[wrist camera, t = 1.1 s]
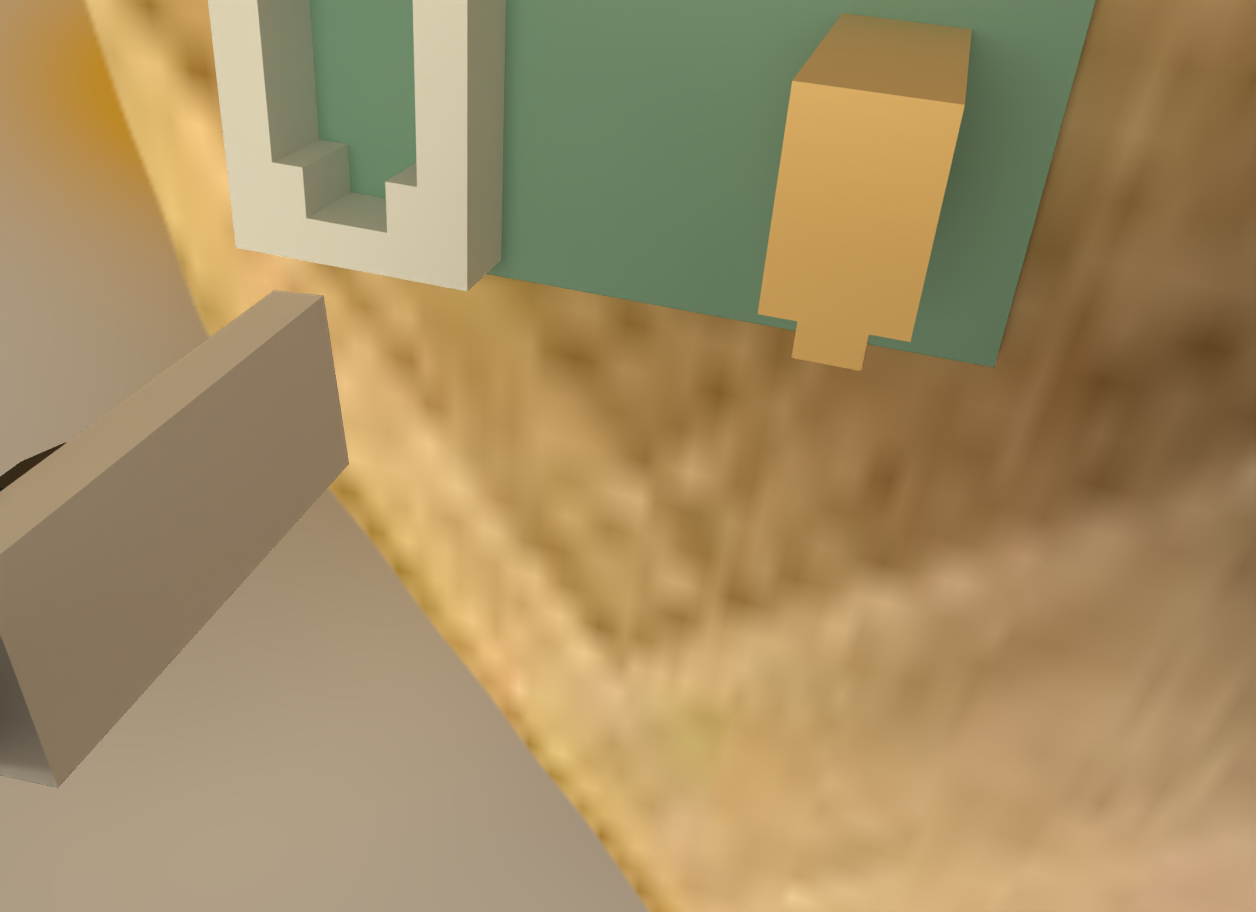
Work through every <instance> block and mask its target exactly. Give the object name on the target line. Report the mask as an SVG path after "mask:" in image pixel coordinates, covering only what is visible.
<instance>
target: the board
mask: <svg viewBox="0 0 1256 912" xmlns="http://www.w3.org/2000/svg"><path fill="white" fill-rule="evenodd" d="M1095 2H1096V0H208V5H209V14H210V23H211V32H212V41H213V49H214V58H215V67H216V76H217V85H218V94H219V102H220V111H221V120H222V129H223V138H224V147H225V155H226V164H227V173H228V182H229V191H230V200H231V208H232V217H233V226H234V235H235V244H236V248H240V249H245V250H251V251H256V252H261V253H267V254H272V255H277V256H282V257H288V258H293V259H298V260H304V261H309V262H314V263H319V264H325V265H330V266H335V267H341V268H346V269H351V270H357V271H362V272H367V273H372V274H378V275H383V276H388V277H394V278H399V279H404V280H410V281H415V282H420V283H425V284H431V285H436V286H441V287H447V288H452V289H457V290H463V291H468V290H469V289H470V288H471V287H472V286H474V285H475V284H476V283H477V282H478V281H479V280H480V279H481V278H482V277H483V276H485V275H486V274H490V275H496V276H501V277H507V278H512V279H518V280H523V281H528V282H534V283H539V284H545V285H550V286H555V287H561V288H566V289H572V290H577V291H583V292H588V293H593V294H599V295H604V296H610V297H615V298H620V299H626V300H631V301H637V302H642V303H648V304H653V305H658V306H664V307H669V308H675V309H680V310H685V311H691V312H696V313H702V314H707V315H713V316H718V317H723V318H729V319H734V320H740V321H745V322H750V323H756V324H761V325H767V326H772V327H777V328H783V329H788V330H794V331H796V327H797V321H793V320H787V319H782V318H776V317H771V316H765V315H760V314H758V308H759V301H760V294H761V288H762V281H763V274H764V267H765V261H766V254H767V247H768V240H769V234H770V227H771V220H772V214H773V207H774V200H775V193H776V187H777V180H778V173H779V167H780V160H781V153H782V146H783V140H784V133H785V126H786V119H787V113H788V106H789V99H790V93H791V86H792V80H793V79H794V78H795V76H796V75H797V74H798V72H799V71H800V70H801V68H802V67H803V66H804V64H805V63H806V62H807V60H808V59H809V58H810V56H811V55H812V53H813V52H814V51H815V49H816V48H817V47H818V45H819V44H820V43H821V41H822V40H823V39H824V37H825V36H826V35H827V33H828V32H829V31H830V29H831V28H832V27H833V25H834V24H835V23H836V21H837V20H838V18H839V17H840V16H841V14H842V13H848V14H856V15H864V16H872V17H879V18H887V19H895V20H903V21H911V22H919V23H927V24H935V25H942V26H950V27H958V28H966V29H972V32H971V43H970V54H969V65H968V76H967V87H966V98H965V107H964V111H963V115H962V120H961V124H960V128H959V133H958V137H957V141H956V146H955V150H954V154H953V159H952V163H951V168H950V172H949V176H948V181H947V185H946V189H945V194H944V198H943V202H942V207H941V211H940V215H939V220H938V224H937V228H936V233H935V237H934V241H933V246H932V250H931V255H930V259H929V263H928V268H927V272H926V276H925V281H924V285H923V289H922V294H921V298H920V302H919V307H918V311H917V315H916V320H915V324H914V329H913V333H912V337H911V342H907V341H902V340H896V339H891V338H885V337H880V336H875V335H870V336H869V340H868V344H870V345H875V346H880V347H886V348H891V349H897V350H902V351H907V352H913V353H918V354H924V355H929V356H935V357H940V358H945V359H951V360H956V361H962V362H967V363H972V364H978V365H983V366H989V367H994V366H995V363H996V359H997V356H998V352H999V348H1000V345H1001V341H1002V338H1003V334H1004V330H1005V327H1006V323H1007V320H1008V316H1009V312H1010V309H1011V305H1012V301H1013V298H1014V294H1015V291H1016V287H1017V283H1018V280H1019V276H1020V273H1021V269H1022V265H1023V262H1024V258H1025V254H1026V251H1027V247H1028V244H1029V240H1030V236H1031V233H1032V229H1033V226H1034V222H1035V218H1036V215H1037V211H1038V208H1039V204H1040V200H1041V197H1042V193H1043V189H1044V186H1045V182H1046V179H1047V175H1048V171H1049V168H1050V164H1051V161H1052V157H1053V153H1054V150H1055V146H1056V142H1057V139H1058V135H1059V132H1060V128H1061V124H1062V121H1063V117H1064V114H1065V110H1066V106H1067V103H1068V99H1069V96H1070V92H1071V88H1072V85H1073V81H1074V77H1075V74H1076V70H1077V67H1078V63H1079V59H1080V56H1081V52H1082V49H1083V45H1084V41H1085V38H1086V34H1087V31H1088V27H1089V23H1090V20H1091V16H1092V12H1093V9H1094V5H1095Z"/></svg>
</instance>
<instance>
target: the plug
mask: <svg viewBox="0 0 1256 912" xmlns="http://www.w3.org/2000/svg"><path fill="white" fill-rule="evenodd" d="M971 32H972V29H966V28H958V27H950V26H942V25H935V24H927V23H919V22H911V21H903V20H895V19H887V18H879V17H872V16H864V15H856V14H848V13H842V14H841V16H840V17H839V18H838V20H837V21H836V23H835V24H834V25H833V27H832V28H831V29H830V31H829V32H828V33H827V35H826V36H825V37H824V39H823V40H822V41H821V43H820V44H819V45H818V47H817V48H816V49H815V51H814V52H813V53H812V55H811V56H810V58H809V59H808V60H807V62H806V63H805V64H804V66H803V67H802V68H801V70H800V71H799V72H798V74H797V75H796V76H795V78H794V79H793V80H792V86H791V93H790V99H789V106H788V113H787V119H786V126H785V133H784V140H783V146H782V153H781V160H780V167H779V173H778V180H777V187H776V193H775V200H774V207H773V214H772V220H771V227H770V234H769V240H768V247H767V254H766V261H765V267H764V274H763V281H762V288H761V294H760V301H759V308H758V314H760V315H765V316H771V317H776V318H782V319H787V320H793V321H797V327H796V333H795V339H794V345H793V351H792V357H791V358H794V359H800V360H805V361H810V362H815V363H821V364H826V365H831V366H837V367H842V368H847V369H852V370H858V371H861V370H862V366H863V361H864V357H865V353H866V348H867V344H868V340H869V336H870V335H875V336H880V337H885V338H891V339H896V340H902V341H907V342H911V337H912V333H913V329H914V324H915V320H916V315H917V311H918V307H919V302H920V298H921V294H922V289H923V285H924V281H925V276H926V272H927V268H928V263H929V259H930V255H931V250H932V246H933V241H934V237H935V233H936V228H937V224H938V220H939V215H940V211H941V207H942V202H943V198H944V194H945V189H946V185H947V181H948V176H949V172H950V168H951V163H952V159H953V154H954V150H955V146H956V141H957V137H958V133H959V128H960V124H961V120H962V115H963V111H964V107H965V98H966V87H967V76H968V65H969V54H970V43H971Z"/></svg>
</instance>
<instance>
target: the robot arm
mask: <svg viewBox="0 0 1256 912" xmlns="http://www.w3.org/2000/svg"><path fill="white" fill-rule="evenodd" d="M348 464H349V461H348V454H347V447H346V441H345V434H344V428H343V421H342V414H341V408H340V401H339V395H338V388H337V381H336V375H335V368H334V362H333V355H332V348H331V342H330V335H329V328H328V322H327V315H326V309H325V302H324V296H323V295H313V294H304V293H294V292H284V291H273V292H271V293H270V294H269V295H267V296H266V297H265V298H263V299H262V300H260V301H259V302H258V303H256V304H255V305H254V306H252V307H251V308H250V309H248V310H247V311H245V312H244V313H243V314H241V315H240V316H239V317H237V318H236V319H235V320H233V321H232V322H231V323H229V324H228V325H226V326H225V327H224V328H222V329H221V330H220V331H218V332H217V333H216V334H214V335H213V336H211V337H210V338H209V339H207V340H206V341H205V342H204V343H202V344H201V345H199V346H198V347H196V348H195V349H194V350H192V351H191V352H190V353H188V354H187V355H186V356H184V357H183V358H182V359H180V360H179V361H177V362H176V363H175V364H173V365H172V366H171V367H170V368H168V369H167V370H165V371H164V372H162V373H161V374H160V375H158V376H157V377H156V378H154V379H153V380H152V381H150V382H149V383H148V384H146V385H145V386H143V387H142V388H141V389H139V390H138V391H137V392H135V393H134V394H133V395H131V396H130V397H128V398H127V399H126V400H125V401H123V402H122V403H120V404H119V405H118V406H116V407H115V408H113V409H112V410H111V411H109V412H108V413H107V414H105V415H104V416H103V417H101V418H100V419H99V420H97V421H96V422H94V423H93V424H92V425H90V426H89V427H88V428H86V429H85V430H84V431H82V432H81V433H80V434H78V435H77V436H75V437H74V438H73V439H71V440H70V441H69V442H67V443H63V444H61V445H59V446H56V447H54V448H52V449H49V450H47V451H45V452H42V453H40V454H38V455H35V456H33V457H31V458H29V459H26V460H24V461H22V462H20V463H19V464H17V465H16V466H14V467H13V468H12V469H10V470H9V471H7V472H6V473H5V474H3V475H2V476H1V477H0V776H5V777H9V778H14V779H19V780H23V781H28V782H33V783H37V784H42V785H46V786H51V787H56V788H58V787H59V786H60V785H61V784H62V783H63V782H64V781H65V780H66V778H67V777H68V776H69V775H70V774H71V773H72V772H73V771H74V770H75V768H76V767H77V766H78V765H79V764H80V763H81V762H82V761H83V760H84V758H85V757H86V756H87V755H88V754H89V753H90V752H91V751H92V749H93V748H94V747H95V746H96V745H97V744H98V743H99V742H100V741H101V740H102V738H103V737H104V736H105V735H106V734H107V733H108V732H109V730H110V729H111V728H112V727H113V726H114V725H115V724H116V723H117V722H118V720H119V719H120V718H121V717H122V716H123V715H124V714H125V713H126V712H127V710H128V709H129V708H130V707H131V706H132V705H133V704H134V703H135V702H136V701H137V699H138V698H139V697H140V696H141V695H142V694H143V693H144V692H145V690H146V689H147V688H148V687H149V686H150V685H151V684H152V683H153V682H154V680H155V679H156V678H157V677H158V676H159V675H160V674H161V673H162V671H163V670H164V669H165V668H166V667H167V666H168V664H170V663H171V662H172V660H173V659H174V658H175V657H176V656H177V655H178V654H179V653H180V651H181V650H182V649H183V648H184V647H185V646H186V645H187V644H188V642H189V641H190V640H191V639H192V638H193V637H194V636H195V634H197V633H198V631H199V630H200V629H201V628H202V627H203V626H204V625H205V624H206V622H207V621H208V620H209V619H210V618H211V617H212V616H213V615H214V613H215V612H216V611H217V610H218V609H219V608H220V607H221V606H222V605H223V603H224V602H225V601H226V600H227V599H228V598H229V597H230V596H231V595H232V594H233V592H234V591H235V590H236V589H237V588H238V587H239V586H240V585H241V583H242V582H243V581H244V580H245V579H246V578H247V577H248V576H249V575H250V574H251V572H252V571H253V570H254V569H255V568H256V567H257V566H258V565H259V563H260V562H261V561H262V560H263V559H264V558H265V557H266V556H267V554H268V553H269V552H270V551H271V550H272V549H273V548H274V547H275V546H276V545H277V543H278V542H279V541H280V540H281V539H282V538H283V537H284V536H285V535H286V533H287V532H288V531H289V530H290V529H291V528H292V527H293V526H294V524H295V523H296V522H297V521H298V520H299V519H300V518H301V517H302V515H303V514H304V513H305V512H306V511H307V510H308V509H309V508H310V507H311V506H312V504H313V503H314V502H315V501H316V500H317V499H318V498H319V497H320V496H321V494H322V493H323V492H324V491H325V490H326V489H327V488H328V487H329V485H330V484H331V483H332V482H333V481H334V480H335V479H336V478H337V477H338V475H339V474H340V473H341V472H342V471H343V470H344V469H345V468H346V467H347V465H348Z"/></svg>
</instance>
